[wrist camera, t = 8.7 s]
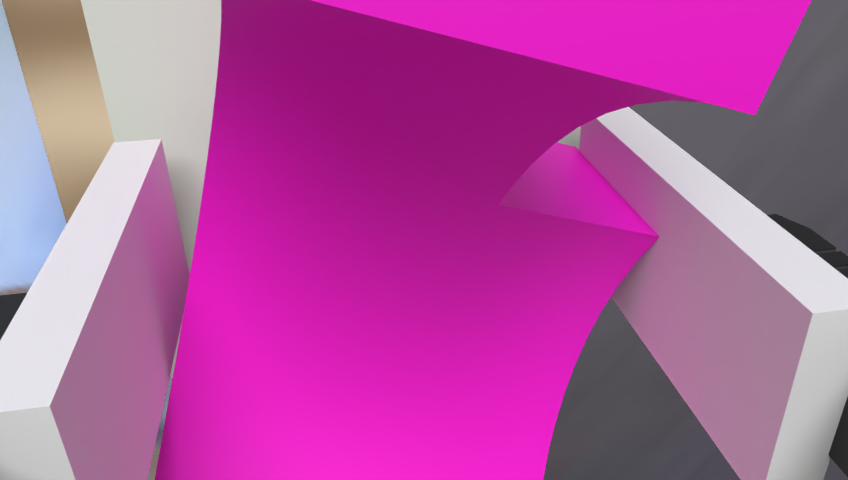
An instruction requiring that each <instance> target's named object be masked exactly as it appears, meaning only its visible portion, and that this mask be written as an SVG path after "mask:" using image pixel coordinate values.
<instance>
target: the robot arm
mask: <svg viewBox="0 0 848 480" xmlns="http://www.w3.org/2000/svg"><path fill="white" fill-rule="evenodd" d="M579 152H580V153H581V154H582V155H583V156H584V157H585V158H586V159H587V160H588V161H589V162H590V163H591V164H592V165H593V166H594V167H595V169H596V170H597V171H598V172H599V173H600V174H601V175H602V176H603V177H604V178H605V179H606V180H607V181H608V182H609V183H610V184H611V186H612V187H613V188H614V189H615V190H616V191H617V192H618V193H619V194H620V195H621V196H622V197H623V198H624V199H625V200H626V202H627V203H628V204H629V205H630V206H631V207H632V208H633V209H634V210H635V211H636V212H637V213H638V214H639V215H640V216H641V217H642V219H643V220H644V221H645V222H646V223H647V224H648V225H649V226H650V227H651V228H652V229H653V230H654V231H655V232H656V233H657V234H658V236H659V238H658V240H657V241H656V242H655V243H654V244H653V245H652V246H651V247H650V248H649V249H648V250H647V251H646V253H645V254H644V255H643V256H642V257H641V258H640V259H639V260H638V261H637V262H636V263H635V265H634V266H633V267H632V269H631V270H630V271H629V272H628V274H627V275H626V276H625V278H624V279H623V280H622V281H621V283H620V284H619V285H618V287H617V288H616V290H615V291H614V293H613V294H612V296H611V297H612V299H613V300H614V302H615V303H616V304H617V306H618V307H619V309H620V310H621V312H622V313H623V314H624V316H625V317H626V319H627V320H628V321H629V323H630V324H631V326H632V327H633V328H634V330H635V331H636V333H637V334H638V336H639V337H640V338H641V340H642V341H643V343H644V344H645V345H646V347H647V348H648V350H649V351H650V352H651V354H652V355H653V357H654V358H655V360H656V361H657V362H658V364H659V365H660V367H661V368H662V369H663V371H664V372H665V374H666V375H667V376H668V378H669V379H670V381H671V382H672V383H673V385H674V386H675V388H676V389H677V391H678V392H679V393H680V395H681V396H682V398H683V399H684V400H685V402H686V403H687V405H688V406H689V407H690V409H691V410H692V412H693V413H694V415H695V416H696V417H697V419H698V420H699V422H700V423H701V424H702V426H703V427H704V429H705V430H706V431H707V433H708V434H709V436H710V437H711V439H712V440H713V441H714V443H715V444H716V446H717V447H718V448H719V450H720V451H721V453H722V454H723V455H724V457H725V458H726V460H727V461H728V463H729V464H730V465H731V467H732V468H733V470H734V471H735V472H736V474H737V475H738V477H739V478H740V479H741V480H823V479H824V476H825V473H826V470H827V467H828V464H829V461H830V458H832V460H833V461H834V462H835V463H836V464H837V465H838V466H839V468H840V469H841V470H842V471H843V472H844V473H845V474H846V475H847V477H848V256H846V255H845V254H844V253H842V252H841V251H839V252H836V247H834V246H833V245H832V244H830V243H829V242H828V241H826V240H825V239H823V238H822V237H821V236H819V235H818V234H817V233H815V232H814V231H813V230H811V229H810V228H807V227H805V226H803V225H800V224H798V223H796V222H793V221H791V220H789V219H786V218H784V217H782V216H779V215H777V214H773V215H766V214H764V213H763V212H762V211H761V210H759V209H758V208H757V207H756V206H754V205H753V204H752V203H750V202H749V201H748V200H747V199H745V198H744V197H743V196H741V195H740V194H739V193H738V192H736V191H735V190H734V189H733V188H731V187H730V186H729V185H727V184H726V183H725V182H724V181H722V180H721V179H720V178H718V177H717V176H716V175H715V174H713V173H712V172H711V171H710V170H708V169H707V168H706V167H704V166H703V165H702V164H701V163H699V162H698V161H697V160H695V159H694V158H693V157H692V156H690V155H689V154H688V153H687V152H685V151H684V150H683V149H681V148H680V147H679V146H678V145H676V144H675V143H674V142H672V141H671V140H670V139H669V138H667V137H666V136H665V135H664V134H662V133H661V132H660V131H658V130H657V129H656V128H655V127H653V126H652V125H651V124H649V123H648V122H647V121H646V120H644V119H643V118H642V117H641V116H639V115H638V114H637V113H635V112H634V111H633V110H632V109H630V108H629V107H626V108H622V109H619V110H616V111H613V112H609V113H606V114H604V115H602V116H600V117H598V118H596V119H594V120H592V121H590V122H588V123H586V124H584V125H582V126H581V133H580V145H579ZM189 277H190V273H189V269H188V264H187V259H186V254H185V249H184V245H183V240H182V235H181V230H180V225H179V220H178V216H177V211H176V206H175V201H174V196H173V192H172V187H171V182H170V177H169V172H168V168H167V163H166V158H165V153H164V148H163V143H162V139H153V140H140V141H127V142H114V143H113V144H112V146H111V148H110V150H109V151H108V153H107V155H106V157H105V158H104V160H103V162H102V164H101V165H100V167H99V169H98V171H97V172H96V174H95V176H94V178H93V179H92V181H91V183H90V185H89V186H88V188H87V190H86V192H85V193H84V195H83V197H82V198H81V200H80V202H79V204H78V205H77V207H76V209H75V211H74V212H73V214H72V216H71V218H70V219H69V221H68V223H67V225H66V226H65V228H64V230H63V232H62V233H61V235H60V237H59V239H58V240H57V242H56V244H55V246H54V247H53V249H52V251H51V253H50V254H49V256H48V258H47V260H46V261H45V263H44V265H43V267H42V268H41V270H40V272H39V274H38V275H37V277H36V279H35V281H34V282H33V284H32V286H31V288H30V289H29V291H28V293H20V294H12V295H1V296H0V480H147V479H148V474H149V469H150V465H151V460H152V456H153V451H154V447H155V442H156V437H157V433H158V428H159V424H160V419H161V414H162V410H163V405H164V401H165V396H166V391H167V387H168V382H169V378H170V373H171V369H172V364H173V359H174V355H175V350H176V346H177V341H178V336H179V332H180V327H181V323H182V318H183V313H184V308H185V302H186V296H187V289H188V283H189Z"/></svg>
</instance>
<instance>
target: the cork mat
mask: <svg viewBox="0 0 848 480" xmlns="http://www.w3.org/2000/svg"><path fill="white" fill-rule="evenodd" d="M2 3H3V6H4V10H5V13H6V17H7V20H8V24H9V27H10V30H11V34H12V37H13V41H14V44H15V48H16V51H17V54H18V58H19V61H20V65H21V68H22V71H23V75H24V78H25V82H26V85H27V89H28V92H29V95H30V99H31V102H32V106H33V109H34V113H35V116H36V119H37V123H38V126H39V130H40V133H41V137H42V140H43V143H44V147H45V150H46V154H47V157H48V161H49V164H50V167H51V171H52V174H53V178H54V181H55V184H56V188H57V191H58V195H59V198H60V202H61V205H62V208H63V212H64V215H65V219H66V222H67V223H68V221H69V219H70V218H71V216H72V214H73V212H74V211H75V209H76V207H77V205H78V204H79V202H80V200H81V198H82V197H83V195H84V193H85V192H86V190H87V188H88V186H89V185H90V183H91V181H92V179H93V178H94V176H95V174H96V172H97V171H98V169H99V167H100V165H101V164H102V162H103V160H104V158H105V157H106V155H107V153H108V151H109V150H110V148H111V146H112V144H113V143H114V142H115V141H114V137H113V133H112V128H111V124H110V120H109V116H108V112H107V108H106V104H105V99H104V95H103V91H102V87H101V83H100V79H99V75H98V70H97V66H96V62H95V58H94V54H93V50H92V46H91V42H90V37H89V33H88V29H87V25H86V21H85V17H84V13H83V8H82V4H81V0H2Z"/></svg>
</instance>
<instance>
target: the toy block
mask: <svg viewBox="0 0 848 480" xmlns="http://www.w3.org/2000/svg"><path fill="white" fill-rule="evenodd" d="M810 2H811V0H221V33H220V49H219V60H218V72H217V81H216V91H215V100H214V109H213V117H212V125H211V133H210V141H209V148H208V156H207V163H206V170H205V178H204V185H203V192H202V199H201V205H200V212H199V219H198V225H197V232H196V239H195V245H194V252H193V258H192V264H191V271H190V277H189V283H188V289H187V296H186V302H185V308H184V314H183V320H182V326H181V332H180V338H179V344H178V350H177V356H176V362H175V368H174V373H173V379H172V385H171V391H170V397H169V402H168V408H167V414H166V420H165V425H164V431H163V437H162V442H161V448H160V454H159V459H158V465H157V470H156V476H155V480H543V477H544V472H545V467H546V461H547V456H548V451H549V447H550V443H551V439H552V435H553V431H554V427H555V423H556V419H557V416H558V413H559V409H560V406H561V403H562V400H563V396H564V393H565V390H566V388H567V385H568V382H569V380H570V377H571V374H572V372H573V369H574V366H575V364H576V362H577V359H578V357H579V355H580V353H581V351H582V348H583V346H584V344H585V342H586V339H587V337H588V335H589V334H590V332H591V330H592V328H593V326H594V324H595V322H596V321H597V319H598V317H599V315H600V313H601V311H602V310H603V308H604V307H605V305H606V304H607V302H608V301H609V299H610V297H611V296H612V294H613V293H614V291H615V290H616V288H617V287H618V285H619V284H620V283H621V281H622V280H623V279H624V278H625V276H626V275H627V274H628V272H629V271H630V270H631V269H632V267H633V266H634V265H635V263H636V262H637V261H638V260H639V259H640V258H641V257H642V256H643V255H644V254H645V253H646V251H647V250H648V249H649V248H650V247H651V246H652V245H653V244H654V243H655V242H656V241H657V240H658V238H659V236H658V234H657V233H656V232H655V231H654V230H653V229H652V228H651V227H650V226H649V225H648V224H647V223H646V222H645V221H644V220H643V219H642V217H641V216H640V215H639V214H638V213H637V212H636V211H635V210H634V209H633V208H632V207H631V206H630V205H629V204H628V203H627V202H626V200H625V199H624V198H623V197H622V196H621V195H620V194H619V193H618V192H617V191H616V190H615V189H614V188H613V187H612V186H611V184H610V183H609V182H608V181H607V180H606V179H605V178H604V177H603V176H602V175H601V174H600V173H599V172H598V171H597V170H596V169H595V167H594V166H593V165H592V164H591V163H590V162H589V161H588V160H587V159H586V158H585V157H584V156H583V155H582V154H581V153H580V152H579V149H578V148H577V147H575V146H570V145H566V144H562V143H557V142H558V141H559V140H561V139H562V138H564V137H565V136H567V135H568V134H569V133H571V132H572V131H574V130H575V129H577V128H578V127H580V126H582V125H584V124H586V123H588V122H590V121H592V120H594V119H596V118H598V117H600V116H602V115H604V114H606V113H609V112H613V111H616V110H619V109H622V108H626V107H629V106H632V105H635V104H643V103H651V102H660V101H669V100H675V101H688V102H702V103H710V104H714V105H718V106H722V107H725V108H729V109H733V110H737V111H741V112H745V113H749V114H753V115H755V114H756V112H757V110H758V108H759V106H760V104H761V102H762V100H763V98H764V96H765V94H766V92H767V90H768V88H769V86H770V84H771V81H772V79H773V77H774V75H775V73H776V71H777V69H778V67H779V65H780V63H781V61H782V59H783V57H784V55H785V53H786V51H787V49H788V47H789V45H790V43H791V41H792V39H793V37H794V35H795V33H796V31H797V29H798V27H799V25H800V23H801V21H802V19H803V17H804V15H805V12H806V10H807V8H808V6H809V4H810Z"/></svg>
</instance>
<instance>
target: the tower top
mask: <svg viewBox="0 0 848 480" xmlns="http://www.w3.org/2000/svg"><path fill="white" fill-rule="evenodd" d="M81 4H82V8H83V13H84V17H85V21H86V25H87V29H88V33H89V37H90V42H91V46H92V50H93V54H94V58H95V62H96V66H97V70H98V75H99V79H100V83H101V87H102V91H103V95H104V99H105V104H106V108H107V112H108V116H109V120H110V124H111V128H112V133H113V137H114V141H115V142H127V141H140V140H153V139H162V143H163V148H164V153H165V158H166V163H167V168H168V172H169V177H170V182H171V187H172V192H173V196H174V201H175V206H176V211H177V216H178V220H179V225H180V230H181V235H182V240H183V245H184V249H185V254H186V259H187V264H188V269H189V273H190V271H191V264H192V258H193V252H194V245H195V239H196V232H197V225H198V219H199V212H200V205H201V199H202V192H203V185H204V178H205V170H206V163H207V156H208V148H209V141H210V133H211V125H212V117H213V109H214V100H215V91H216V81H217V72H218V60H219V49H220V33H221V0H81ZM580 133H581V126H580V127H578V128H577V129H575V130H574V131H572V132H571V133H569V134H568V135H567V136H565V137H564V138H562V139H561V140H559V141H558V142H557V143H562V144H566V145H570V146H575V147H577V148H578V149H579V145H580ZM183 314H184V313H183ZM182 320H183V318H182ZM181 326H182V323H181ZM180 332H181V327H180ZM180 332H179V336H178V341H177V346H176V350H175V355H174V359H173V364H172V369H171V377H172V379H173V373H174V368H175V362H176V356H177V350H178V344H179V338H180Z"/></svg>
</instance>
